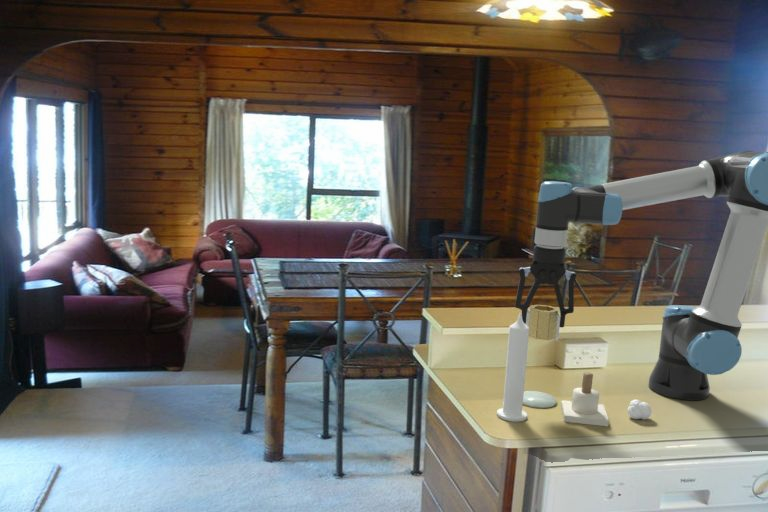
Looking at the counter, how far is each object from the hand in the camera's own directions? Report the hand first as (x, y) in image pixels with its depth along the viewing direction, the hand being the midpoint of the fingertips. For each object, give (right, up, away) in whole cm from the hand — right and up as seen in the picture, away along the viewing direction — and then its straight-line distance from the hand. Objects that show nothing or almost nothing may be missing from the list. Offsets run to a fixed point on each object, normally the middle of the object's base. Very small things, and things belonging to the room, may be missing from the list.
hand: (541, 337), depth 183 cm
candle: (-9, -18, -8) cm, 21 cm away
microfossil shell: (+22, -19, -5) cm, 29 cm away
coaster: (-1, -16, +3) cm, 16 cm away
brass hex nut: (0, +1, 0) cm, 1 cm away
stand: (+9, -18, -6) cm, 21 cm away
